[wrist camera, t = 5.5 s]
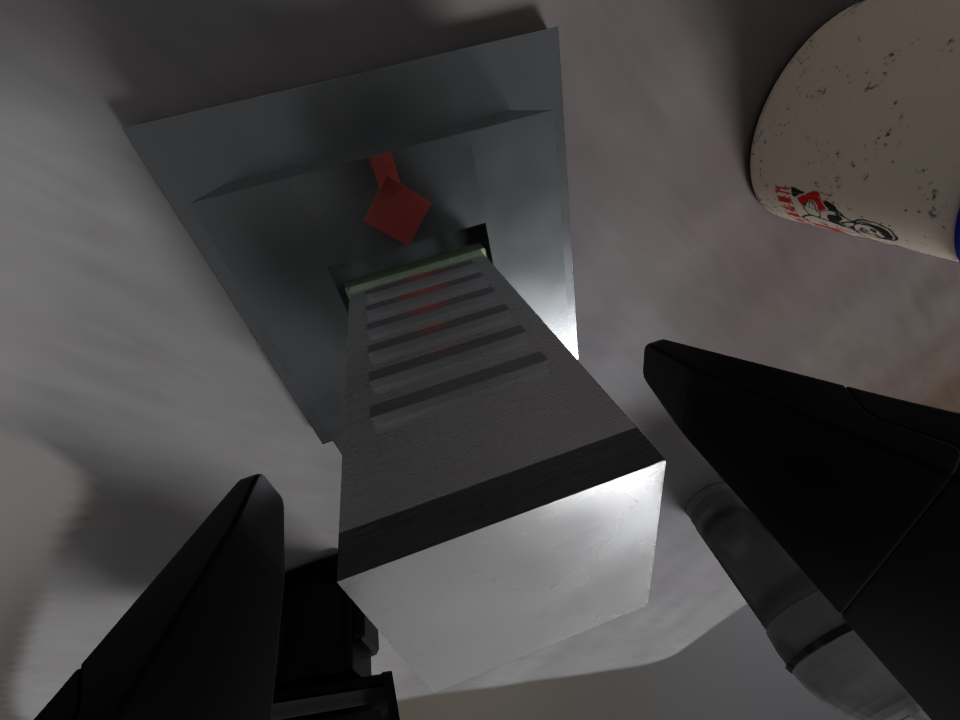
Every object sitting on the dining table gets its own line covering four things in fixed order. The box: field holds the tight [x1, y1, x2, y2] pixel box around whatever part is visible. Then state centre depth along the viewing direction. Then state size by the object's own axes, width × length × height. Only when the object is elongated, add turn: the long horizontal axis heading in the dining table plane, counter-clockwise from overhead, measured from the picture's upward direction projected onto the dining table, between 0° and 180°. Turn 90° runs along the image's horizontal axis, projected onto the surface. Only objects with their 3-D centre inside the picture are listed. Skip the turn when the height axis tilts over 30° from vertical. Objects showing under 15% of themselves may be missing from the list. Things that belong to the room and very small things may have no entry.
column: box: [337, 242, 666, 693], centre depth 9 cm, size 4×4×9 cm
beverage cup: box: [686, 483, 927, 720], centre depth 27 cm, size 7×7×20 cm
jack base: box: [123, 26, 578, 454], centre depth 15 cm, size 14×14×5 cm
